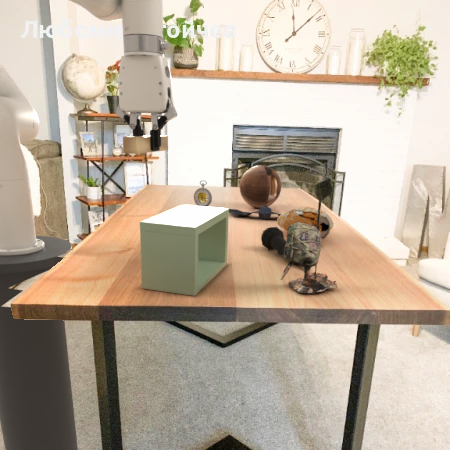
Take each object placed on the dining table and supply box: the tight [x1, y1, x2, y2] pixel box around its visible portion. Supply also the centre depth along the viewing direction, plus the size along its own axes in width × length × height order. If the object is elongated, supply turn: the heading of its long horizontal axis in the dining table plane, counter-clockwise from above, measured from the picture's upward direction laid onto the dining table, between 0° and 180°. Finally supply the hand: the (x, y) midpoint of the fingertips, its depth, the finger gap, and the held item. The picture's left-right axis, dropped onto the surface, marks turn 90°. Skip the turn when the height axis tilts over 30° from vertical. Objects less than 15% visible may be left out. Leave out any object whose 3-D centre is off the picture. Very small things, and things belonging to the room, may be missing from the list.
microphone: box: [260, 226, 303, 268], centre depth 101 cm, size 6×6×20 cm
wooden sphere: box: [239, 164, 282, 209], centre depth 160 cm, size 15×15×15 cm
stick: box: [122, 135, 169, 155], centre depth 91 cm, size 3×16×3 cm, turn 165°
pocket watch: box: [193, 180, 213, 207], centre depth 150 cm, size 8×8×10 cm
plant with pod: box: [280, 176, 338, 294], centre depth 79 cm, size 8×11×20 cm
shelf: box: [139, 203, 230, 297], centre depth 85 cm, size 10×20×12 cm, turn 164°
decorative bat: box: [229, 205, 282, 220], centre depth 144 cm, size 30×4×10 cm
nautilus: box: [276, 206, 335, 240], centre depth 118 cm, size 8×22×15 cm
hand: (147, 149), depth 91 cm, fingers closed on stick, 2 cm apart
